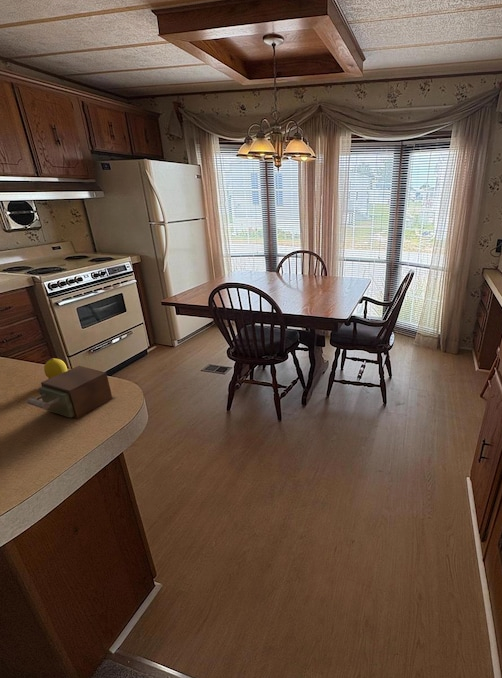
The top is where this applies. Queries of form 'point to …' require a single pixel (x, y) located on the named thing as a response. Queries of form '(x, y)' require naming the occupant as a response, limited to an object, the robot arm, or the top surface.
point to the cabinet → (82, 388)
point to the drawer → (53, 401)
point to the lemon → (54, 367)
